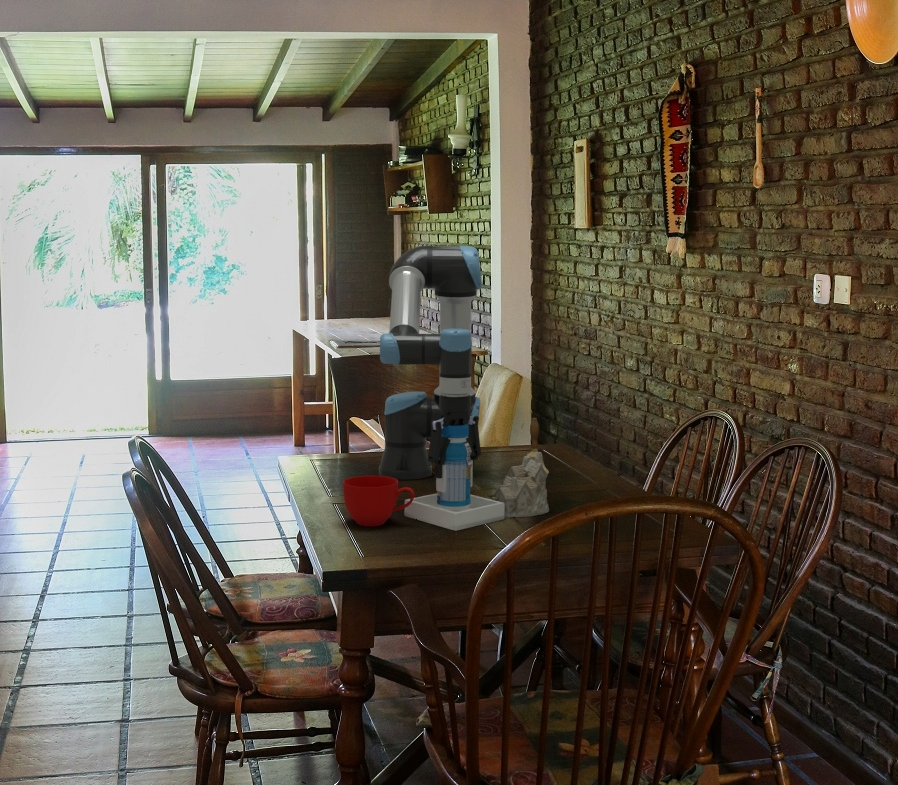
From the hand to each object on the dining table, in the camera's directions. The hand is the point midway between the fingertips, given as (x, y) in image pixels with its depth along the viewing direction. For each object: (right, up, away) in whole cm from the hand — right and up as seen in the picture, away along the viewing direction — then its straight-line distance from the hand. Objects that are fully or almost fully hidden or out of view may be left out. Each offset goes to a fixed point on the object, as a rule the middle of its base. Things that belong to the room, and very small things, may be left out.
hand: (454, 488), depth 264 cm
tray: (0, -7, +1) cm, 7 cm away
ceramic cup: (-18, -8, -5) cm, 20 cm away
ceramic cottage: (+15, -6, +10) cm, 20 cm away
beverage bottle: (0, -4, +1) cm, 4 cm away
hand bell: (+23, 0, +53) cm, 58 cm away
